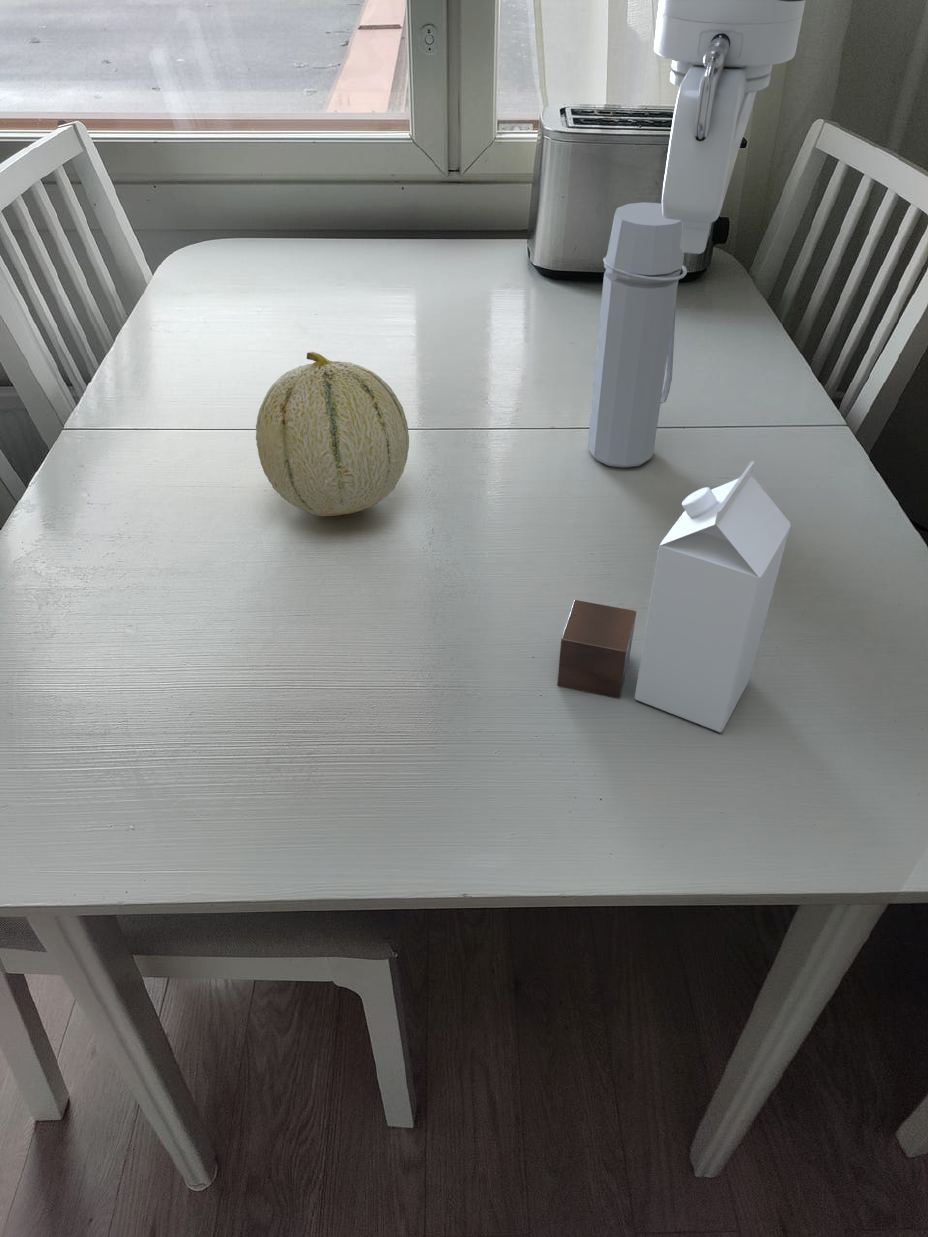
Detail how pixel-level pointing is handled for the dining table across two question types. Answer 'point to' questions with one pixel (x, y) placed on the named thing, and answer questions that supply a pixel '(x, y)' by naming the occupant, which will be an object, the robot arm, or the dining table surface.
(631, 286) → the water bottle
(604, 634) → the walnut block
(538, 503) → the dining table surface
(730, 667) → the milk carton
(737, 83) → the robot arm
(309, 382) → the cantaloupe
